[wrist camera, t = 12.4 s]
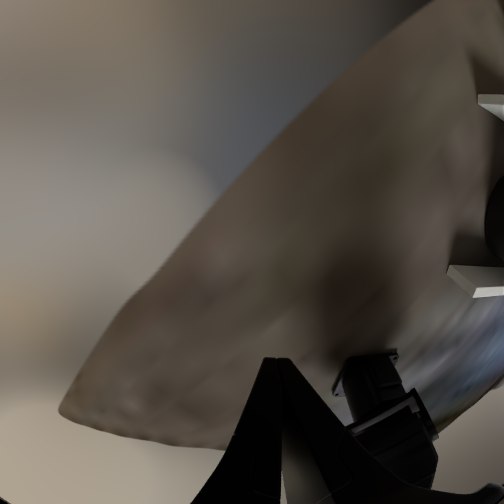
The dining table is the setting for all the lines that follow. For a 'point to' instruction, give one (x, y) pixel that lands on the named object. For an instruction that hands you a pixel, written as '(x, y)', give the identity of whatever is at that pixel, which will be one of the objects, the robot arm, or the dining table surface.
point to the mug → (496, 220)
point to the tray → (478, 277)
